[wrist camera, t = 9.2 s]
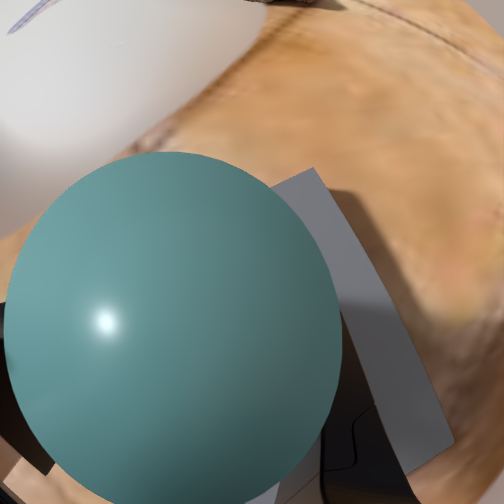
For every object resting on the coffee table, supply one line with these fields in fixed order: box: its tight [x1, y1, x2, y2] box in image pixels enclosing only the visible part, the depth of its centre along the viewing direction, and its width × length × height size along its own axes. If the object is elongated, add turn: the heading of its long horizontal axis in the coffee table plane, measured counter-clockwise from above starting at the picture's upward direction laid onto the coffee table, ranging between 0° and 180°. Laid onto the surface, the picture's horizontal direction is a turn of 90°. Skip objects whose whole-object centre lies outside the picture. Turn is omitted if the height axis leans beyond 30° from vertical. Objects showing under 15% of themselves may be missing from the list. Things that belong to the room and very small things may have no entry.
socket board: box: [245, 167, 455, 504], centre depth 16 cm, size 17×13×2 cm
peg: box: [4, 152, 342, 504], centre depth 9 cm, size 4×4×12 cm
